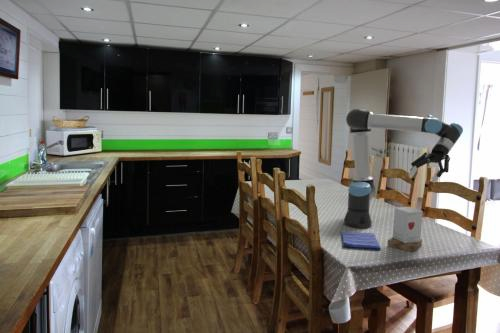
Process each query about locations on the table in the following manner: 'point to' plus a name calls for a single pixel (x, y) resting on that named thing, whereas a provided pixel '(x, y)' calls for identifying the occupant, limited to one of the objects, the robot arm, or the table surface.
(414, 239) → the supplement box
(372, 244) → the dish towel
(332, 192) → the table surface
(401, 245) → the walnut stand
